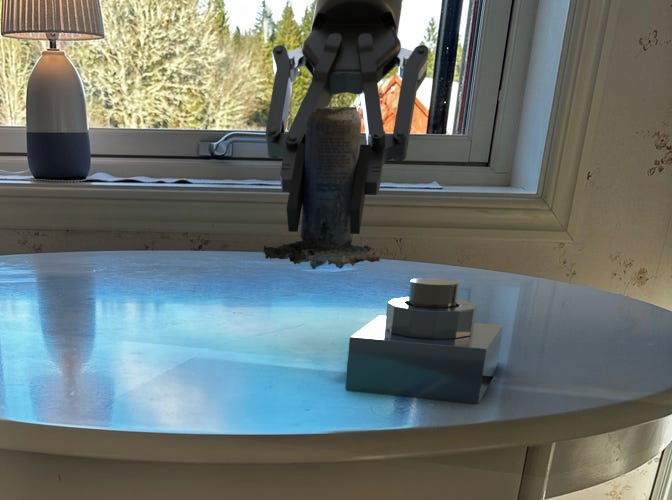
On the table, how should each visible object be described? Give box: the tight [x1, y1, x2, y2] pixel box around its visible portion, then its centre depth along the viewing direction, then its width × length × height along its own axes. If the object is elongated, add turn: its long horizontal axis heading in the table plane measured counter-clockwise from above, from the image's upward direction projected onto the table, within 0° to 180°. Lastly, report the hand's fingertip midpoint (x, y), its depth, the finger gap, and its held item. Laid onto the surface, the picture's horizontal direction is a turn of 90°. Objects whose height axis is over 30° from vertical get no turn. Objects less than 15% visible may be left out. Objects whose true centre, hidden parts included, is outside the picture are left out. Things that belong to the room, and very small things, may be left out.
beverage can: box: [262, 105, 382, 270], centre depth 80 cm, size 9×8×12 cm
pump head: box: [408, 277, 460, 309], centre depth 72 cm, size 4×4×2 cm
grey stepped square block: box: [344, 296, 504, 405], centre depth 74 cm, size 10×10×6 cm
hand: (323, 220), depth 78 cm, fingers closed on beverage can, 4 cm apart
